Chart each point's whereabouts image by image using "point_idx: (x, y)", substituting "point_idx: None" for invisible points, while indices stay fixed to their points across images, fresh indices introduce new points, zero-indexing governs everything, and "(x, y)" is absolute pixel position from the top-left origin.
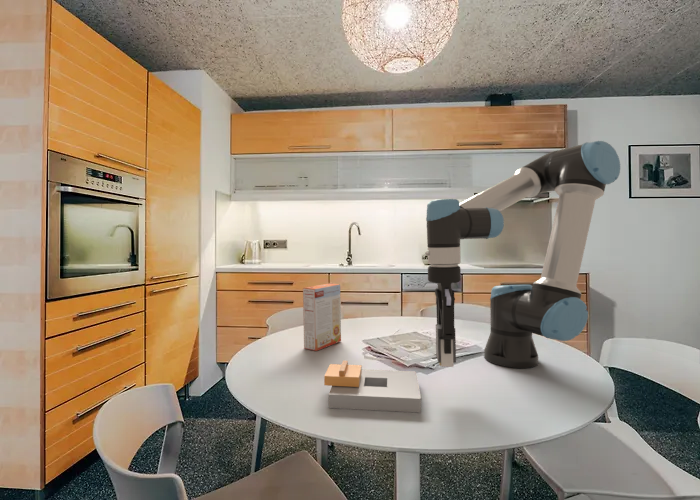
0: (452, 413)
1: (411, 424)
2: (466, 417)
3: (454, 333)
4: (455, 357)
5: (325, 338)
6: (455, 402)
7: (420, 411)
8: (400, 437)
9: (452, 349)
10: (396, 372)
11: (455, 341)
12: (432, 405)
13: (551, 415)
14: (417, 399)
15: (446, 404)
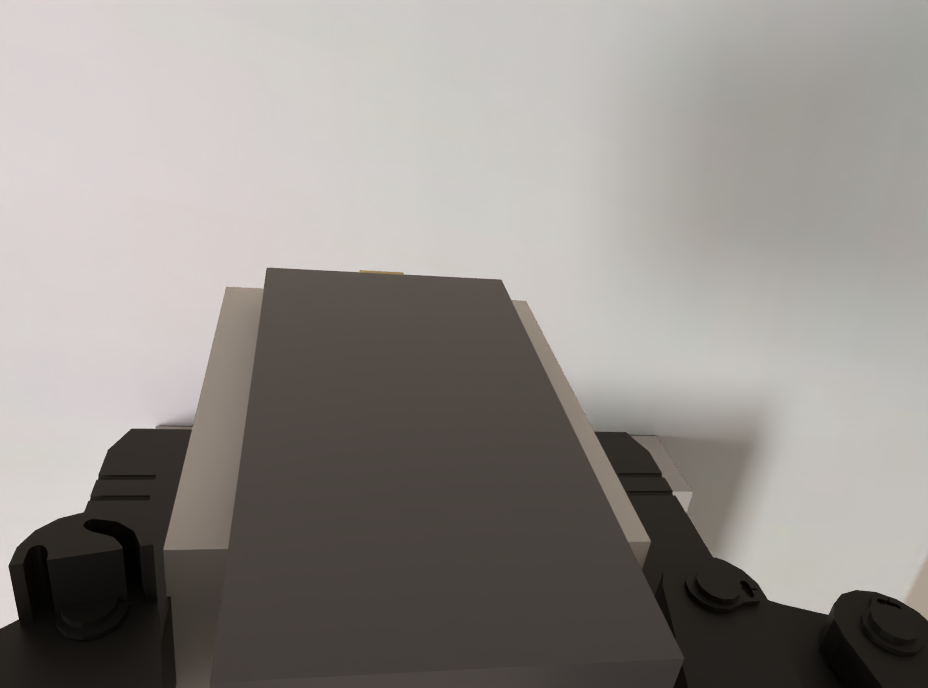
0: (694, 249)
1: (774, 491)
2: (764, 167)
3: (638, 582)
4: (514, 315)
5: None
6: (529, 184)
7: (659, 443)
8: (873, 539)
9: (590, 432)
10: None
11: (584, 453)
12: (566, 357)
13: None
14: (684, 507)
15: (558, 260)
